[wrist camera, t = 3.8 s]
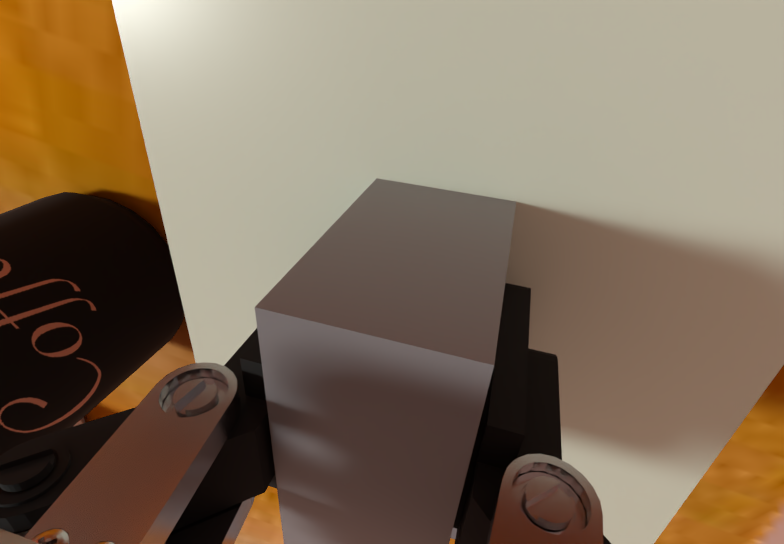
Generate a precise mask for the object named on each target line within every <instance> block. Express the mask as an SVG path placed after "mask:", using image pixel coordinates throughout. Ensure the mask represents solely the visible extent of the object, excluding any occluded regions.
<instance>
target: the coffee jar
mask: <svg viewBox="0 0 784 544" xmlns="http://www.w3.org/2000/svg"><path fill="white" fill-rule="evenodd" d="M183 318H184V310H183V305H182V301H181V297H180V292H179V288H178V284H177V279H176V275H175V271H174V267H173V262H172V258H171V254H170V249H169V246H168V245H167V243H166V242H165V241H164V240H163V239H162V237H161V236H160V235H159V234H158V233H157V231H156V230H155V229H154V228H153V227H152V226H151V225H150V224H148V223H147V222H146V221H145V220H143V219H142V218H141V217H140V216H138V215H137V214H136V213H135V212H133V211H132V210H130V209H128V208H126V207H124V206H122V205H120V204H118V203H116V202H114V201H112V200H110V199H105V198H99V197H96V196H90V195H84V194H78V193H69V192H63V193H59V194H56V195H52V196H48V197H44V198H42V199H39V200H36V201H34V202H31V203H29V204H26V205H23V206H21V207H18V208H15V209H13V210H10V211H8V212H5V213H2V214H0V455H2V454H3V453H5V452H7V451H8V450H10V449H12V448H13V447H15V446H17V445H19V444H21V443H24V442H26V441H29V440H31V439H34V438H37V437H40V436H44V435H47V434H50V433H54V432H57V431H60V430H63V429H67V428H70V427H73V426H74V425H75V424H76V423H77V422H79V421H80V420H81V419H82V418H83V417H84V416H85V415H86V414H88V413H89V412H90V411H91V410H92V409H93V408H94V407H95V406H97V405H98V404H99V403H100V402H101V401H102V400H103V399H104V398H106V397H107V396H108V395H109V394H110V393H111V392H112V391H113V390H115V389H116V388H117V387H118V386H119V385H120V384H121V383H122V382H124V381H125V380H126V379H127V378H128V377H129V376H130V375H131V374H133V373H134V372H135V371H136V370H137V369H138V368H139V367H140V366H142V365H143V364H144V363H145V362H146V361H147V360H148V359H149V358H151V357H152V356H153V355H154V354H155V353H156V352H157V351H158V350H160V349H161V348H162V347H163V346H164V345H165V344H166V343H167V342H169V341H170V340H171V339H172V338H173V336H174V335H175V333H176V332H177V330H178V328H179V327H180V325H181V323H182V321H183Z"/></svg>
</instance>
